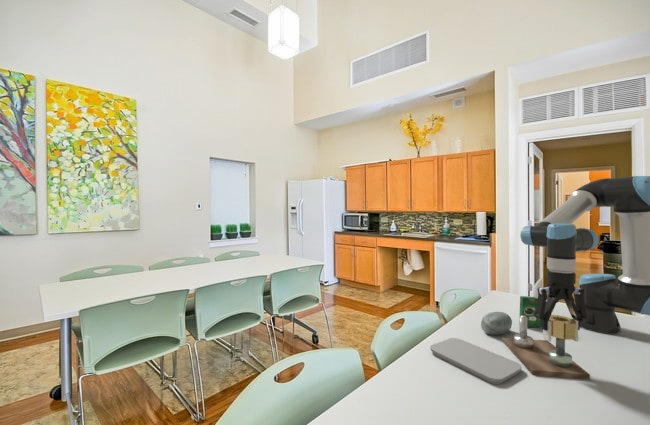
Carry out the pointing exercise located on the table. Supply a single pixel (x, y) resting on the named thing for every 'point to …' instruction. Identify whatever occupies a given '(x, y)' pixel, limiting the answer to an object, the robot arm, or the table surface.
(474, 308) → the table surface
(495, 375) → the tablet
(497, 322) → the grey marbled egg
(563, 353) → the metal peg stand
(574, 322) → the tan boxy piece
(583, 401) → the table surface
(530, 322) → the coffee box
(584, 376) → the walnut plate
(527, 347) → the stand rod
